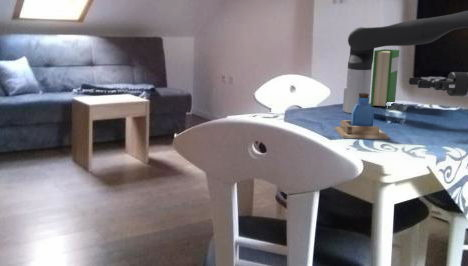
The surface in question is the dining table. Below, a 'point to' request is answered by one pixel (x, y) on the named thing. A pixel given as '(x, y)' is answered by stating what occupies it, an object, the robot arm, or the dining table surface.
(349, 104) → the robot arm
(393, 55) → the hardback book
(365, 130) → the u cradle
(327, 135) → the dining table surface
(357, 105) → the perfume bottle
